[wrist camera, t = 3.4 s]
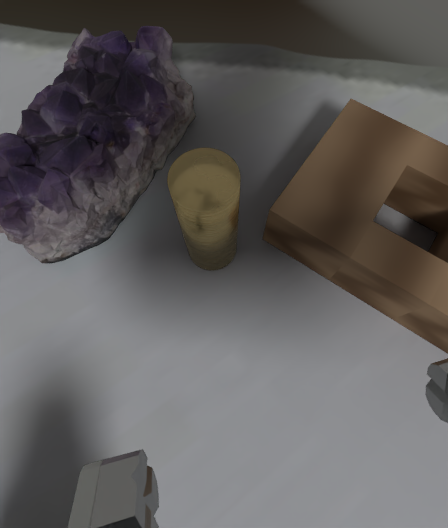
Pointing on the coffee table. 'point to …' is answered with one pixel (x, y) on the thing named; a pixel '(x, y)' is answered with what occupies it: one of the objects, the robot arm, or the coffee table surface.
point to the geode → (92, 143)
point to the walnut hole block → (372, 217)
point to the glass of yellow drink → (207, 205)
